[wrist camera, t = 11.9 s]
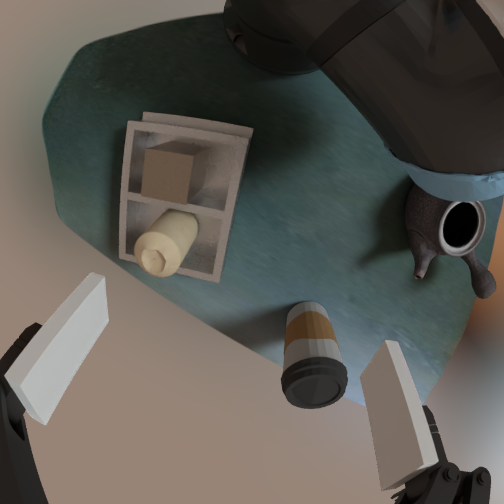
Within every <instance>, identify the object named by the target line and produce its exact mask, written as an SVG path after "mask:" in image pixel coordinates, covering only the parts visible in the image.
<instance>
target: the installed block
mask: <svg viewBox="0 0 504 504" xmlns="http://www.w3.org/2000/svg"><path fill="white" fill-rule="evenodd" d="M210 149H211V147H207V146H202V145H196V144H190V143H184V142H177V141H169V142H166V143H162V144H159V145H156V146H153V147H149V148H146V152H145V160H144V169H143V178H142V189H141V196H143V197H148V198H153V199H158V200H163V201H168V202H173V203H178V204H183V205H187V204H188V203H189V201H190V200H191V199H192V198H193V197H194V196H195V195H196V194H197V193H198V192H199V191H200V190H201V189H202V187H203V186H204V182H205V176H206V171H207V165H208V160H209V154H210Z"/></svg>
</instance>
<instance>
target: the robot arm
mask: <svg viewBox="0 0 504 504" xmlns="http://www.w3.org/2000/svg"><path fill="white" fill-rule="evenodd" d="M223 19H224V26H225V30H226V33H227V35H228V37H229V39H230V41H231V42H232V44H233V46H234V47H235V48H236V50H237V51H238V52H239V53H240V54H241V55H242V56H243V57H244V58H245V59H247V60H248V61H250V62H251V63H253V64H254V65H256V66H258V67H260V68H263V69H265V70H268V71H271V72H275V73H280V74H305V73H310V72H314V71H317V70H321V71H322V72H323V73H324V74H325V75H326V76H327V77H328V78H329V79H330V80H331V81H332V82H333V83H334V84H335V85H336V86H337V87H338V88H339V89H340V90H341V92H342V93H343V94H344V95H345V96H346V97H347V98H348V99H349V100H350V101H351V103H352V104H353V105H354V106H355V107H356V108H357V109H358V111H359V112H360V113H361V114H362V115H363V117H364V118H365V119H366V120H367V121H368V123H369V124H370V125H371V126H372V127H373V129H374V130H375V131H376V132H377V134H378V135H379V136H380V138H381V139H382V140H383V141H384V146H385V148H386V150H387V151H388V153H389V154H390V155H391V156H392V157H393V158H394V159H395V160H396V161H398V162H399V163H400V164H401V165H402V167H403V168H404V169H405V171H406V172H407V173H408V175H409V176H410V177H411V179H412V180H413V181H414V182H415V183H416V184H417V185H418V186H419V187H421V188H422V189H423V190H425V191H426V192H427V193H429V194H431V195H433V196H435V197H438V198H441V199H444V200H449V201H455V202H476V201H483V200H488V199H491V198H495V197H498V196H500V195H503V194H504V0H226V3H225V6H224V13H223ZM105 287H106V286H105V277H104V276H102V275H99V274H96V273H93V272H91V273H90V274H89V275H88V276H87V277H86V278H85V279H84V280H83V281H82V282H81V283H80V284H79V285H78V286H77V288H76V289H75V290H74V291H73V292H72V293H71V294H70V295H69V296H68V297H67V298H66V300H65V301H64V302H63V303H62V304H61V305H60V306H59V307H58V309H57V310H56V311H55V312H54V313H53V314H52V316H51V317H50V318H49V319H48V320H47V321H46V323H45V324H44V325H43V326H42V325H40V324H38V323H34V324H32V325H31V326H29V327H27V328H26V329H25V330H24V331H23V333H22V334H21V335H20V336H19V338H18V339H17V340H16V341H15V342H14V344H13V345H12V346H11V347H10V348H9V350H8V351H7V352H6V353H5V354H4V356H3V357H2V358H1V360H0V504H48V501H47V498H46V495H45V493H44V490H43V487H42V484H41V481H40V478H39V475H38V472H37V469H36V465H35V462H34V458H33V454H32V451H31V447H30V443H29V439H28V434H27V429H26V424H25V419H24V416H23V414H24V412H25V410H26V411H27V412H28V414H29V415H30V417H32V418H33V419H35V420H36V421H38V422H40V423H42V424H43V425H45V426H46V424H47V422H48V420H49V419H50V417H51V415H52V413H53V411H54V410H55V408H56V406H57V404H58V402H59V401H60V399H61V397H62V395H63V394H64V392H65V390H66V389H67V387H68V385H69V383H70V382H71V380H72V378H73V377H74V375H75V373H76V372H77V370H78V368H79V367H80V365H81V364H82V362H83V360H84V359H85V357H86V356H87V354H88V352H89V351H90V349H91V348H92V346H93V345H94V343H95V342H96V340H97V338H98V337H99V335H100V334H101V332H102V331H103V329H104V328H105V326H106V324H107V323H108V322H109V319H108V310H107V298H106V288H105ZM360 380H361V384H362V388H363V393H364V397H365V402H366V407H367V411H368V416H369V421H370V426H371V432H372V437H373V442H374V447H375V454H376V460H377V465H378V472H379V479H380V486H381V491H382V490H390V489H396V488H397V487H399V486H401V485H403V484H405V487H406V488H405V489H403V490H401V491H399V492H398V493H396V494H394V495H393V496H392V497H391V499H393V498H395V497H397V496H399V497H398V498H397V499H396V500H395V501H396V502H395V504H489V499H490V488H491V476H490V473H489V471H488V470H487V469H486V468H484V467H479V468H477V469H475V470H474V471H472V472H464V471H460V470H459V468H458V467H457V466H456V465H455V464H453V463H451V462H448V460H447V458H446V454H445V451H444V448H443V444H442V441H441V438H440V434H439V433H438V428H437V426H436V422H435V419H434V416H433V414H432V412H431V411H430V410H429V408H428V407H427V406H422V405H421V402H420V399H419V396H418V393H417V390H416V388H415V385H414V382H413V380H412V377H411V374H410V372H409V369H408V366H407V364H406V361H405V359H404V356H403V354H402V351H401V349H400V346H399V344H398V342H397V341H389V340H385V341H384V342H383V344H382V345H381V347H380V348H379V350H378V351H377V353H376V354H375V356H374V357H373V359H372V360H371V362H370V363H369V364H368V366H367V367H366V369H365V370H364V372H363V373H362V374H361V376H360Z"/></svg>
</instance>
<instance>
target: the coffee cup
mask: <svg viewBox="0 0 504 504" xmlns="http://www.w3.org/2000/svg"><path fill="white" fill-rule="evenodd" d="M347 382H348V378H347V370H346V367H345V366H344V365H343V362H342V359H341V355H340V352H339V347H338V343H337V340H336V337H335V334H334V331H333V328H332V325H331V323H330V321H329V318H328V314H327V311H326V310H325V309H324V307H322V306H321V305H319V304H318V303H315V302H310V301H307V302H302V303H299V304H297V305H295V306H294V307H293V308H292V309H291V310H290V312H289V313H288V316H287V323H286V332H285V345H284V366H283V374H282V377H281V384H282V390H283V393H284V394H285V396H286V398H287V400H288V402H290V403H291V404H292V405H294V406H297V407H300V408H305V409H306V408H307V409H315V408H321V407H325V406H328V405H331V404H333V403H335V402H336V401H338V400H339V399H340V398H341V397H342V396H343V394H344V393H345V389H346V386H347Z"/></svg>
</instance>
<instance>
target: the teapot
mask: <svg viewBox="0 0 504 504" xmlns="http://www.w3.org/2000/svg"><path fill="white" fill-rule="evenodd" d="M404 215H405V224H406V228H407V231H408V234H409V239H408V243H409V247H410V250H411V252H412V254H413V257H414V260H415V270H414V278H415V279H417V280H419V279H422V278H423V277H424V275H425V273H426V271H427V268H428V265H429V263H430V261H431V259H432V258H433V257H434V256H435V255H449V256H452V257H461V258H462V259H463V260H464V261H465V262H466V263H467V264H468V266H469V269H470V271H471V279H472V287H473V289H474V292H475V293H476V295H477V296H478V297H479V298H481V299H485V298H488V297H489V296H491V295H492V294H493V293H494V292H495V289H496V282H495V279H494V277H493V275H492V274H491V273H490V271H488V270H487V269H486V268H485V267H484V266H483V265H482V264H481V263H480V262H479V260H478V258H477V256H476V252H475V247H476V246H477V245H478V243H479V242H480V240H481V238H482V237H483V234H484V231H485V227H486V213H485V209H484V207H483V204H482V203H481V202H480V201H476V202H455V201H449V200H444V199H441V198H438V197H435V196H433V195H431V194H429V193H427V192H426V191H425V190H423V189H422V188H421V187H419V186H418V185H417V184H416V183H415V184H414V186H413V187H412V189H411V191H410V192H409V195H408V197H407V201H406V205H405V213H404Z"/></svg>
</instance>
